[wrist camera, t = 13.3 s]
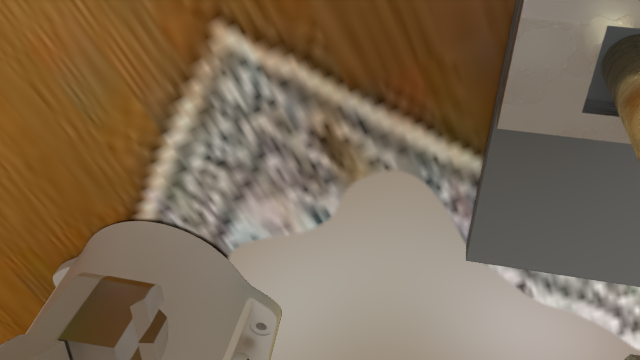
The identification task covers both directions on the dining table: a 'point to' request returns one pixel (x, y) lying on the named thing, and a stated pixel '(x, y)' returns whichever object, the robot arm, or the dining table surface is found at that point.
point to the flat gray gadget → (562, 69)
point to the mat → (559, 196)
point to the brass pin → (625, 84)
